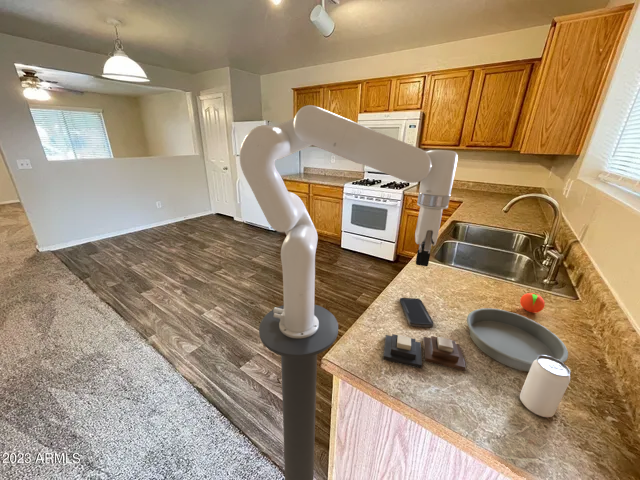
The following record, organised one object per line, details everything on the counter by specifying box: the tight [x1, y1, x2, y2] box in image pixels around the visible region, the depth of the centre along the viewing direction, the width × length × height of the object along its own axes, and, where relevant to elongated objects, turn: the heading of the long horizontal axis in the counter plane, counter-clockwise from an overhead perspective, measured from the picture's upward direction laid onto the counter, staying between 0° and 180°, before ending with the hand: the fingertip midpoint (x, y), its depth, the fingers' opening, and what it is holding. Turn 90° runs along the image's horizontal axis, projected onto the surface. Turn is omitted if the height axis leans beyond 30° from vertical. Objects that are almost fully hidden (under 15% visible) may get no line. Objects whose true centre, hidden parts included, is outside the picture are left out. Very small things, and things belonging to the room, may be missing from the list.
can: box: [519, 355, 572, 418], centre depth 59 cm, size 6×6×12 cm
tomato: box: [519, 292, 546, 314], centre depth 95 cm, size 8×7×7 cm
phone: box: [399, 297, 434, 328], centre depth 93 cm, size 8×1×15 cm
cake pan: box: [466, 307, 569, 373], centre depth 79 cm, size 25×25×4 cm
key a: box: [397, 334, 412, 351], centre depth 74 cm, size 4×4×2 cm
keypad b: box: [422, 335, 466, 371], centre depth 75 cm, size 10×9×3 cm
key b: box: [437, 335, 453, 352], centre depth 74 cm, size 4×4×2 cm
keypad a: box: [382, 333, 423, 369], centre depth 75 cm, size 10×9×3 cm
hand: (421, 264), depth 75 cm, fingers closed
